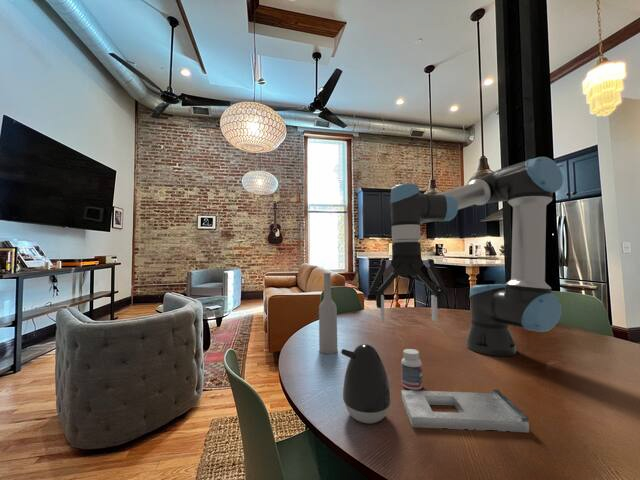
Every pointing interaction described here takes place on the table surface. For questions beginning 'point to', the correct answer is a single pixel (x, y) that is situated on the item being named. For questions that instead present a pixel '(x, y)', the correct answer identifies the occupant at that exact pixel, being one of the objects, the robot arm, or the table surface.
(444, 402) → the jig
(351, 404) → the pump dispenser
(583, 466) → the table surface
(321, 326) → the bottle
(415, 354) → the pill bottle
